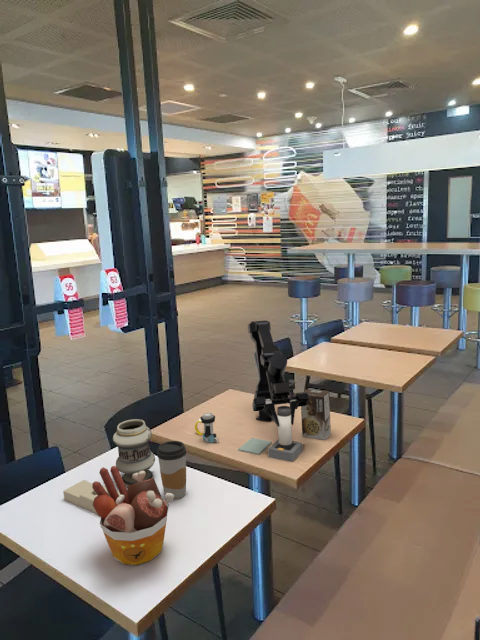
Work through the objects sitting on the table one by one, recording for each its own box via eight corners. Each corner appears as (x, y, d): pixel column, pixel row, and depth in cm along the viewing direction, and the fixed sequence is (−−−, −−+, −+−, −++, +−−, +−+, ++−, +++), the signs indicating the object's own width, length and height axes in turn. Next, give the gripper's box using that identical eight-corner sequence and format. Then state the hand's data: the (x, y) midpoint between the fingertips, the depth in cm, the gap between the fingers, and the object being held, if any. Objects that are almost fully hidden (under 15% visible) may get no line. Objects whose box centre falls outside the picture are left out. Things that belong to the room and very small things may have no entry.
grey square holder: (279, 446, 174) (279, 437, 173) (302, 450, 169) (302, 441, 169) (268, 457, 166) (268, 447, 166) (292, 461, 162) (292, 452, 162)
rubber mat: (251, 439, 181) (251, 437, 181) (271, 442, 177) (271, 441, 177) (238, 450, 172) (238, 449, 172) (259, 454, 168) (258, 453, 168)
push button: (222, 440, 181) (221, 414, 180) (213, 446, 177) (211, 419, 175) (208, 436, 185) (206, 410, 183) (199, 442, 181) (197, 415, 179)
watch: (211, 434, 188) (211, 419, 186) (208, 437, 185) (208, 422, 184) (197, 431, 190) (197, 417, 189) (193, 434, 188) (193, 419, 186)
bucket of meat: (190, 543, 123) (184, 468, 119) (144, 585, 110) (135, 502, 106) (131, 521, 134) (124, 452, 130) (82, 557, 120) (72, 481, 117)
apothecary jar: (110, 479, 157) (103, 425, 154) (142, 465, 166) (137, 413, 162) (131, 492, 149) (125, 435, 146) (164, 476, 157) (159, 422, 154)
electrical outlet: (82, 477, 152) (124, 492, 142) (84, 489, 153) (125, 505, 143) (62, 487, 146) (104, 504, 136) (64, 500, 147) (105, 518, 137)
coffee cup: (178, 484, 152) (174, 437, 150) (195, 493, 146) (191, 445, 144) (155, 495, 147) (150, 447, 144) (172, 505, 141) (168, 455, 138)
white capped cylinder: (282, 438, 170) (280, 405, 168) (294, 441, 168) (292, 406, 166) (276, 444, 166) (275, 409, 164) (288, 446, 164) (287, 411, 162)
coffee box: (331, 433, 182) (330, 391, 179) (325, 440, 176) (324, 396, 173) (307, 430, 186) (306, 388, 183) (301, 436, 181) (299, 394, 178)
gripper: (252, 374, 165) (260, 418, 157) (307, 368, 168) (318, 412, 159) (249, 389, 174) (256, 432, 166) (301, 384, 177) (311, 425, 168)
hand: (285, 425), depth 165 cm, fingers closed on white capped cylinder, 4 cm apart
